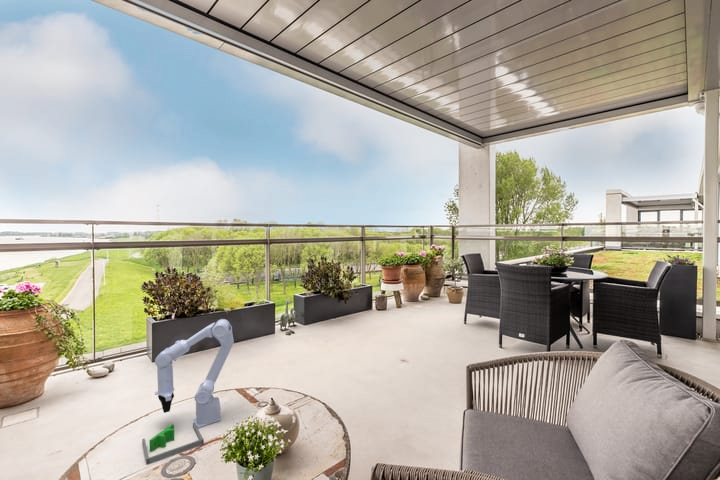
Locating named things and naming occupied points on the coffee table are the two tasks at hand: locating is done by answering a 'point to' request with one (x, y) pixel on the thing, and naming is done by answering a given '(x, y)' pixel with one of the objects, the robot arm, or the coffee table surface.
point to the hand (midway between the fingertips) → (166, 411)
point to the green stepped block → (162, 438)
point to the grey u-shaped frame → (173, 451)
